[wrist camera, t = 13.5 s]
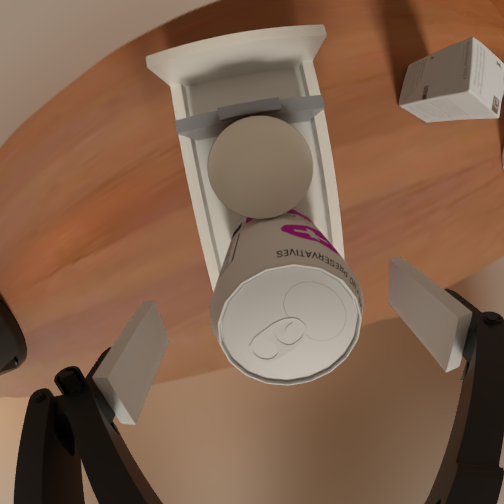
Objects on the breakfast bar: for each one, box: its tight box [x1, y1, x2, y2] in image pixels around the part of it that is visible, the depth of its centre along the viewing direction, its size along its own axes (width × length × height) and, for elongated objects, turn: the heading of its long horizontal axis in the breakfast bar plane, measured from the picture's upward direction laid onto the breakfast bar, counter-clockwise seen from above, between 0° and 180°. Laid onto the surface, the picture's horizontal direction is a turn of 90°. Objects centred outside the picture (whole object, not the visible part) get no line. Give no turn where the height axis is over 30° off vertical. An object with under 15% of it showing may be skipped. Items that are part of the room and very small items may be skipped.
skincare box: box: [399, 37, 504, 123], centre depth 18 cm, size 6×4×12 cm
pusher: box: [175, 95, 325, 141], centre depth 21 cm, size 10×1×8 cm, turn 100°
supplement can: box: [209, 207, 364, 385], centre depth 20 cm, size 8×8×15 cm
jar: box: [208, 115, 313, 219], centre depth 22 cm, size 7×7×9 cm
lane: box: [146, 25, 344, 293], centre depth 23 cm, size 13×23×9 cm, turn 10°
